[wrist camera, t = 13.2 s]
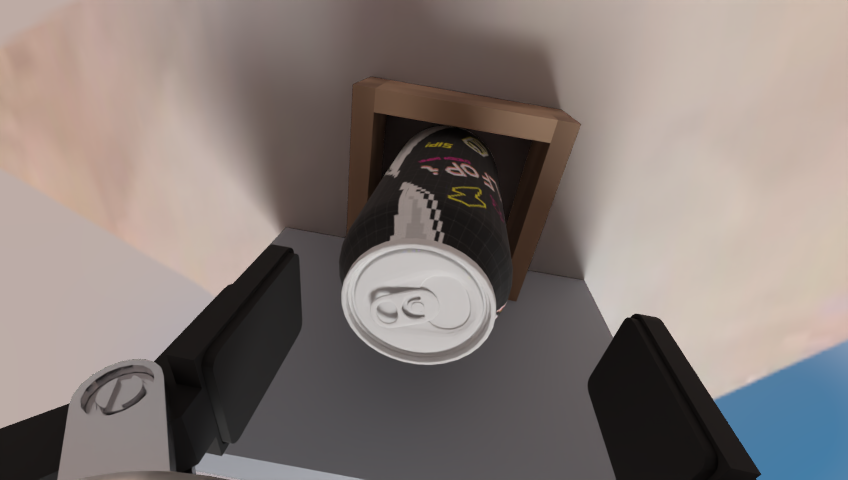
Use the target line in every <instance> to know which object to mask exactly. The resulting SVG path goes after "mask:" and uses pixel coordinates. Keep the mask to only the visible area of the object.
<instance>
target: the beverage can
mask: <svg viewBox="0 0 848 480" xmlns="http://www.w3.org/2000/svg"><path fill="white" fill-rule="evenodd" d="M339 276H340V280H341V283H342V291H341V303H342V308H343V311H344V315H345V317H346V319H347V321H348V323H349V325H350V327H351V328H352V329H353V331H354V332H355V333H356V334H357V336H358V337H359V338H360V339H362V340H363V341H364V342H365V343H366V344H367V345H368V346H370V347H372V348H373V349H375V350H376V351H378V352H379V353H381V354H384V355H386V356H388V357H390V358H393V359H396V360H399V361H402V362H407V363H413V364H424V365H433V364H442V363H447V362H451V361H455V360H458V359H460V358H462V357H465V356H467V355H469V354H470V353H472V352H473V351H475V350H476V349H477V348H479V347H480V346H481V345H482V344H483V342H484V341H485V340H486V339H487V338H488V336H489V334H490V332H491V331H492V329H493V326H494V322H495V319H496V318H497V317H498V316H499V315H500V313H501V312H502V310H503V308H504V306H505V305H506V303H507V300H508V297H509V294H510V290H511V287H512V277H513V265H512V259H511V253H510V247H509V241H508V235H507V229H506V223H505V217H504V210H503V204H502V198H501V192H500V186H499V180H498V174H497V169H496V164H495V160H494V158H493V156H492V153H491V151H490V150H489V149H488V147H487V146H486V144H485V143H484V142H483V141H482V140H481V139H480V138H478V137H477V136H476V135H474V134H473V133H471V132H469V131H468V130H465V129H462V128H459V127H454V126H435V127H432V128H428V129H425V130H423V131H421V132H419V133H417V134H416V135H415V136H413V137H412V138H411V139H410V140H409V141H408V142H407V143H406V144H405V145H404V147H403V148H402V149H401V151H400V152H399V154H398V155H397V157H396V158H395V160H394V161H393V163H392V164H391V166H390V168H389V169H388V171H387V172H386V174H385V175H384V177H383V178H382V180H381V181H380V183H379V184H378V186H377V187H376V189H375V190H374V192H373V194H372V195H371V197H370V198H369V200H368V201H367V203H366V204H365V206H364V207H363V209H362V210H361V212H360V213H359V215H358V217H357V218H356V220H355V221H354V223H353V224H352V226H351V227H350V229H349V231H348V233H347V235H346V237H345V239H344V241H343V244H342V248H341V253H340V258H339Z"/></svg>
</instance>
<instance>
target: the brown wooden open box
mask: <svg viewBox="0 0 848 480" xmlns="http://www.w3.org/2000/svg"><path fill="white" fill-rule="evenodd" d="M387 115H393V116H398V117H404V118H410V119H415V120H421V121H427V122H433V123H438V124H444V125H450V126H455V127H461V128H467V129H473V130H478V131H484V132H490V133H495V134H501V135H507V136H513V137H518V138H524V139H530V140H532V142H531V146H530V149H529V152H528V156H527V159H526V162H525V165H524V169H523V172H522V175H521V179H520V182H519V185H518V189H517V192H516V195H515V198H514V202H513V205H512V208H511V212H510V215H509V218H508V222H507V225H506V229H507V235H508V241H509V247H510V253H511V259H512V265H513V277H512V287H511V290H510V294H509V297H508V300H511V301H517V298H518V296H519V293H520V290H521V287H522V285H523V282H524V279H525V276H526V274H527V271H528V268H529V265H530V263H531V260H532V257H533V254H534V252H535V249H536V246H537V244H538V241H539V238H540V235H541V233H542V230H543V227H544V224H545V222H546V219H547V216H548V213H549V211H550V208H551V205H552V202H553V200H554V197H555V194H556V191H557V189H558V186H559V183H560V180H561V178H562V175H563V172H564V169H565V167H566V164H567V161H568V159H569V156H570V153H571V150H572V148H573V145H574V142H575V139H576V137H577V134H578V131H579V128H580V126H581V124H580V123H579V122H577V121H576V120H575V119H573V118H572V117H571V116H569V115H568V114H567V113H565V112H564V111H562V110H560V109H554V108H548V107H543V106H537V105H531V104H525V103H520V102H514V101H508V100H502V99H497V98H491V97H485V96H479V95H474V94H468V93H462V92H456V91H451V90H445V89H439V88H433V87H428V86H422V85H416V84H410V83H405V82H399V81H393V80H387V79H382V78H376V77H369V78H367V79H364V80H362V81H360V82H357V83H355V84H353V91H352V115H351V138H350V162H349V186H348V209H347V233H348V231H349V229H350V227H351V226H352V224H353V223H354V221H355V220H356V218H357V217H358V215H359V213H360V212H361V210H362V209H363V207H364V206H365V204H366V203H367V201H368V200H369V198H370V197H371V195H372V194H373V192H374V190H375V189H376V187H377V186H378V184H379V183H380V181H381V173H382V162H383V151H384V140H385V129H386V118H387ZM347 233H346V235H347Z"/></svg>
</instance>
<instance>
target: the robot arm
mask: <svg viewBox="0 0 848 480" xmlns="http://www.w3.org/2000/svg"><path fill="white" fill-rule="evenodd" d="M301 327H302V303H301V282H300V261H299V255H298V254H295V253H294V250H293V249H292V248H290V247H285V246H280V245H275V244H271V245H269V246H268V247H267V248H266V249H265V250H264V251H263V252H262V254H261V255H260V256H259V257H258V258H257V259H256V260H255V261H254V262H253V263H252V264H251V265H250V266H249V267H248V268H247V269H246V270H245V272H244V273H243V274H242V275H241V276H240V277H239V278H238V279H237V280H236V281H235V282H234V283H233V284H230V285H228V286H227V287H226V288H224V289H223V290H222V291H221V292H220V293H219V294H218V295H217V297H216V298H215V299H214V300H213V301H212V302H211V303H210V304H209V305H208V306H207V307H206V308H205V309H204V310H203V311H202V312H201V313H200V314H199V315H198V316H197V317H196V318H195V320H193V322H192V323H191V324H190V325H189V326H188V327H187V328H186V329H185V330H184V331H183V332H182V333H181V334H180V335H179V336H178V337H177V338H176V339H175V340H174V341H173V342H172V343H171V344H170V346H169V347H168V348H167V349H166V350H165V351H164V352H163V353H162V354H161V355H160V356H159V357H158V358H157V359H156V360H155V361H154V362H153V361H149V360H146V359H132V360H128V361H122V362H118V363H116V364H114V365H110V366H108V367H105V368H104V369H102V370H100V371H98V372H97V373H95V374H93V375H92V376H91V377H89V378H88V379H87V380H86V381H85V382H83V383H82V384H81V385H80V386H79V388H78V389H77V390H76V392H75V393H74V394H73V396H72V399H71V401H70V403H69V404H67V405H64V406H61V407H58V408H56V409H53V410H50V411H47V412H45V413H42V414H39V415H37V416H34V417H31V418H29V419H26V420H23V421H20V422H17V423H15V424H12V425H9V426H6V427H4V428H1V429H0V480H227V479H222V478H217V477H211V476H204V475H196V469H195V466H196V465H197V464H199V463H200V461H201V459H202V458H203V456H204V455H205V453H209V454H213V455H218V456H222V455H223V454H224V452H225V450H226V449H227V447H228V445H229V443H232V444H234V443H236V442H237V441H238V440H239V438H240V437H241V435H242V433H243V431H244V430H245V428H246V426H247V424H248V423H249V421H250V419H251V417H252V416H253V414H254V412H255V410H256V409H257V407H258V405H259V403H260V402H261V400H262V398H263V396H264V395H265V393H266V391H267V389H268V388H269V386H270V384H271V382H272V381H273V379H274V377H275V375H276V374H277V372H278V370H279V368H280V367H281V365H282V363H283V361H284V360H285V358H286V356H287V354H288V353H289V351H290V349H291V347H292V346H293V344H294V342H295V340H296V339H297V337H298V335H299V333H300V331H301ZM587 386H588V393H589V396H590V399H591V402H592V405H593V408H594V411H595V415H596V418H597V421H598V424H599V427H600V430H601V434H602V437H603V440H604V443H605V446H606V449H607V452H608V456H609V459H610V462H611V465H612V468H613V471H614V474H615V478H616V480H756V478H757V477H758V476H760V475H761V473H760V472H759V470H758V469H757V467H756V466H755V464H754V462H753V461H752V459H751V458H750V456H749V455H748V453H747V452H746V450H745V448H744V447H743V445H742V444H741V442H740V441H739V439H738V438H737V436H736V435H735V433H734V431H733V430H732V428H731V427H730V425H729V424H728V422H727V421H726V419H725V418H724V416H723V415H722V413H721V411H720V410H719V408H718V407H717V405H716V404H715V402H714V401H713V399H712V398H711V396H710V394H709V393H708V391H707V390H706V388H705V387H704V385H703V384H702V382H701V381H700V379H699V377H698V376H697V374H696V373H695V371H694V370H693V368H692V367H691V365H690V364H689V362H688V360H687V359H686V357H685V356H684V354H683V353H682V351H681V350H680V348H679V347H678V345H677V343H676V342H675V340H674V339H673V337H672V336H671V334H670V333H669V331H668V330H667V328H666V326H665V325H664V323H663V322H662V321H661V320H660V319H659V318H657V317H651V316H646V315H641V314H634V315H632V316H631V318H626V319H625V320H624V321H623V323H622V325H621V326H620V328H619V329H618V331H617V333H616V334H615V336H614V338H613V339H612V341H611V343H610V344H609V346H608V348H607V349H606V351H605V352H604V354H603V356H602V357H601V359H600V361H599V362H598V364H597V366H596V367H595V369H594V371H593V372H592V374H591V375H590V377H589V379H588V385H587Z"/></svg>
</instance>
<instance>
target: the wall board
mask: <svg viewBox="0 0 848 480" xmlns="http://www.w3.org/2000/svg"><path fill="white" fill-rule="evenodd" d="M344 239H345V238H343V237H337V236H331V235H326V234H320V233H315V232H309V231H303V230H298V229H292V228H287V227H286V228H285V229H284V230H283V231H282V232H281V233H280V234H279V235H278V237H277V238H276V239H275V240H274V241H273V242H272V243H271V244H275V245H280V246H285V247H290V248H292V249H293V250H294V253H295V254H298V255H299V261H300V282H301V303H302V327H301V331H300V333H299V335H298V337H297V339H296V340H295V342H294V344H293V346H292V347H291V349H290V351H289V353H288V354H287V356H286V358H285V360H284V361H283V363H282V365H281V367H280V368H279V370H278V372H277V374H276V375H275V377H274V379H273V381H272V382H271V384H270V386H269V388H268V389H267V391H266V393H265V395H264V396H263V398H262V400H261V402H260V403H259V405H258V407H257V409H256V410H255V412H254V414H253V416H252V417H251V419H250V421H249V423H248V424H247V426H246V428H245V430H244V431H243V433H242V435H241V437H240V438H239V440H238V441H237V442H236V443H234V444H232V443H229V445H228V447H227V449H226V450H225V452H224V454H223V455H222V456H218V455H213V454H209V453H205V455H204V456H203V458H202V459H201V461H200V463H199V464H197V465H196V466H195V469H196V471H197V472H202V473H207V474H213V475H218V476H224V477H230V478H235V479H240V480H616V478H615V474H614V471H613V468H612V465H611V462H610V459H609V456H608V452H607V449H606V446H605V443H604V440H603V437H602V434H601V430H600V427H599V424H598V421H597V418H596V415H595V411H594V408H593V405H592V402H591V399H590V396H589V393H588V386H587V385H588V379H589V377H590V375H591V374H592V372H593V371H594V369H595V367H596V366H597V364H598V362H599V361H600V359H601V357H602V356H603V354H604V352H605V351H606V349H607V348H608V346H609V344H610V343H611V341H612V339H613V337H612V335H611V333H610V331H609V329H608V327H607V325H606V323H605V321H604V319H603V317H602V315H601V313H600V311H599V309H598V307H597V305H596V303H595V301H594V299H593V297H592V295H591V293H590V291H589V289H588V287H587V285H586V283H585V281H584V280H578V279H573V278H567V277H562V276H556V275H550V274H545V273H539V272H534V271H527V274H526V276H525V279H524V282H523V285H522V287H521V290H520V293H519V296H518V298H517V301H511V300H507V303H506V305H505V306H504V308H503V310H502V312H501V313H500V315H499V316H498V317H497V318H496V319H495V322H494V326H493V329H492V331H491V332H490V334H489V336H488V338H487V339H486V340H485V341H484V342H483V344H482V345H481V346H480V347H479V348H477V349H476V350H475V351H473V352H472V353H470V354H469V355H467V356H465V357H462V358H460V359H458V360H455V361H451V362H447V363H442V364H433V365H424V364H413V363H407V362H402V361H399V360H396V359H393V358H390V357H388V356H386V355H384V354H381V353H379V352H378V351H376V350H375V349H373V348H372V347H370V346H368V345H367V344H366V343H365V342H364V341H363V340H362V339H360V338H359V337H358V336H357V334H356V333H355V332H354V331H353V329H352V328H351V327H350V325H349V323H348V321H347V319H346V317H345V315H344V311H343V308H342V303H341V291H342V283H341V280H340V276H339V258H340V253H341V248H342V244H343V241H344ZM271 244H270V245H271Z"/></svg>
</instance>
